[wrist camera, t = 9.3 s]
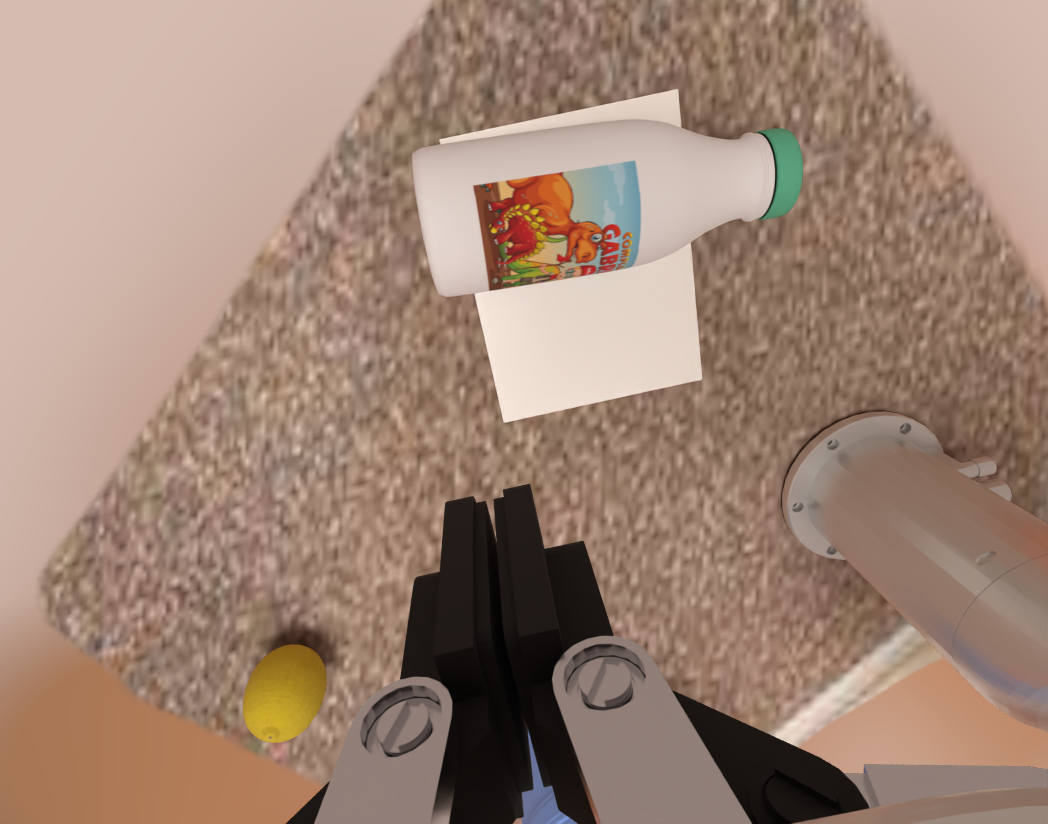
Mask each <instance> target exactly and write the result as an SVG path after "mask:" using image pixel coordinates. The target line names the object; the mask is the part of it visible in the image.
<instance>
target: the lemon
mask: <svg viewBox="0 0 1048 824" xmlns="http://www.w3.org/2000/svg"><path fill="white" fill-rule="evenodd" d="M326 685H327V679H326V669H325V666H324V664H323V661H322V659H321V658H320V657H319V655H318V654H317V653H316V652H315V651H313V650H312V649H310V648H308V647H306V646H303V645H294V644H291V645H285V646H282V647H280V648H277V649H275V650H273V651H272V652H270V653H269V654H267V655H266V656H265V657H264V658H263V659H262V660H261V661H260V663H259V664H258V665H257V666H256V668H255V669H254V671H253V672H252V674H251V676H250V679H249V681H248V684H247V686H246V689H245V693H244V700H243V717H244V720H245V723H246V726H247V727H248V729H249V730H250V731H251V733H252V734H253V735H255V736H256V737H257V738H259V739H261V740H263V741H266V742H272V743H277V742H283V741H287V740H290V739H292V738H294V737H296V736H298V735H299V734H300V733H302V732H303V731H304V730H305V729H306V728H307V727H308V726H309V725H310V723H311V722H312V720H313V719H314V717H315V716H316V714H317V713H318V711H319V709H320V707H321V704H322V702H323V698H324V695H325V691H326Z"/></svg>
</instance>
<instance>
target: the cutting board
mask: <svg viewBox="0 0 1048 824" xmlns="http://www.w3.org/2000/svg"><path fill="white" fill-rule="evenodd" d="M637 119H643V120H653V121H660V122H665V123H669V124H672V125H675V126H678V127H681V119H680V107H679V95H678V89H676V90H671V91H666V92H661V93H657V94H652V95H647V96H642V97H638V98H633V99H628V100H624V101H619V102H614V103H609V104H605V105H600V106H595V107H591V108H586V109H581V110H576V111H572V112H567V113H562V114H557V115H553V116H548V117H543V118H539V119H534V120H529V121H524V122H520V123H515V124H510V125H505V126H501V127H496V128H491V129H487V130H482V131H477V132H472V133H468V134H463V135H458V136H454V137H449V138H444V139H439V141H440V144H446V143H453V142H460V141H467V140H473V139H480V138H487V137H494V136H501V135H508V134H515V133H522V132H529V131H536V130H544V129H551V128H559V127H566V126H574V125H581V124H589V123H597V122H607V121H617V120H637ZM474 294H475V298H476V303H477V307H478V311H479V316H480V320H481V325H482V329H483V333H484V338H485V342H486V346H487V351H488V355H489V360H490V364H491V368H492V373H493V377H494V381H495V386H496V390H497V395H498V399H499V403H500V408H501V412H502V416H503V421H504V423H505V422H510V421H514V420H519V419H523V418H528V417H533V416H537V415H542V414H546V413H551V412H556V411H560V410H565V409H569V408H574V407H578V406H583V405H588V404H592V403H597V402H601V401H606V400H611V399H615V398H620V397H624V396H629V395H633V394H638V393H643V392H647V391H652V390H656V389H661V388H666V387H670V386H675V385H679V384H684V383H688V382H693V381H698V380H702V371H701V359H700V347H699V335H698V323H697V311H696V299H695V287H694V275H693V263H692V251H691V242H690V243H689V244H687V245H686V246H684V247H683V248H681V249H679V250H678V251H676V252H674V253H672V254H670V255H668V256H666V257H664V258H662V259H659V260H656V261H654V262H651V263H647V264H644V265H640V266H636V267H631V268H626V269H621V270H616V271H611V272H605V273H599V274H593V275H587V276H581V277H575V278H569V279H563V280H557V281H551V282H544V283H538V284H531V285H525V286H519V287H512V288H506V289H500V290H493V291H487V292H480V293H474Z"/></svg>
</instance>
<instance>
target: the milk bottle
mask: <svg viewBox="0 0 1048 824" xmlns="http://www.w3.org/2000/svg"><path fill="white" fill-rule="evenodd" d="M412 163H413V178H414V187H415V194H416V200H417V207H418V212H419V219H420V223H421V230H422V234H423V239H424V244H425V248H426V254H427V257H428V262H429V266H430V270H431V274H432V277H433V280H434V283H435V286H436V289H437V291H438V294H439V295H442V296H446V297H451V296H459V295H467V294H474V293H480V292H487V291H493V290H500V289H506V288H512V287H519V286H525V285H531V284H538V283H544V282H551V281H557V280H563V279H569V278H575V277H581V276H587V275H593V274H599V273H605V272H611V271H616V270H621V269H626V268H631V267H636V266H640V265H644V264H647V263H651V262H654V261H656V260H659V259H662V258H664V257H666V256H668V255H670V254H672V253H674V252H676V251H678V250H679V249H681V248H683V247H684V246H686V245H687V244H689V243H690V242H692V241H693V240H695V239H696V238H698V237H699V236H701V235H703V234H704V233H706V232H708V231H709V230H711V229H713V228H715V227H717V226H720V225H722V224H724V223H726V222H729V221H732V220H735V219H742V220H743V221H746V222H750V221H753V220H755V219H758V220H763V219H771V218H776V217H780V216H782V215H784V214H786V213H788V212H789V211H790V210H791V209H792V207H793V206H794V204H795V203H796V201H797V198H798V196H799V193H800V189H801V185H802V178H803V160H802V154H801V149H800V146H799V144H798V141H797V140H796V138H795V136H794V135H793V134H792V133H791V132H790V131H789V130H786V129H781V128H777V129H768V130H763V131H758V132H756V133H750V132H748V133H745V134H743V135H742V136H741V137H740V138H739V139H734V140H729V139H719V138H713V137H709V136H705V135H701V134H698V133H695V132H692V131H689V130H686V129H684V128H681V127H678V126H675V125H672V124H669V123H665V122H660V121H653V120H643V119H637V120H617V121H607V122H597V123H589V124H581V125H574V126H566V127H559V128H551V129H544V130H536V131H529V132H522V133H515V134H508V135H501V136H494V137H487V138H480V139H473V140H467V141H460V142H453V143H446V144H439V145H434V146H429V147H423V148H420V149H418V150H417V151H415V152H414V153H413V155H412Z"/></svg>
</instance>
